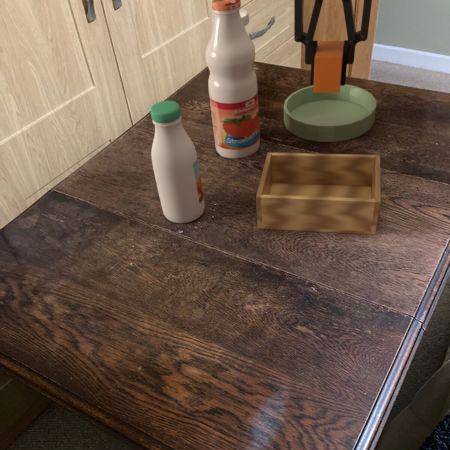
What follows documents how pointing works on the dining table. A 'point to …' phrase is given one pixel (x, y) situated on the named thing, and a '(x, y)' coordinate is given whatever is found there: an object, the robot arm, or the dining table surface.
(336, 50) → the box
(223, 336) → the dining table surface
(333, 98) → the bowl
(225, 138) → the fruit juice
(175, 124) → the milk bottle
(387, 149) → the dining table surface
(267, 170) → the holder
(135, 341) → the dining table surface
